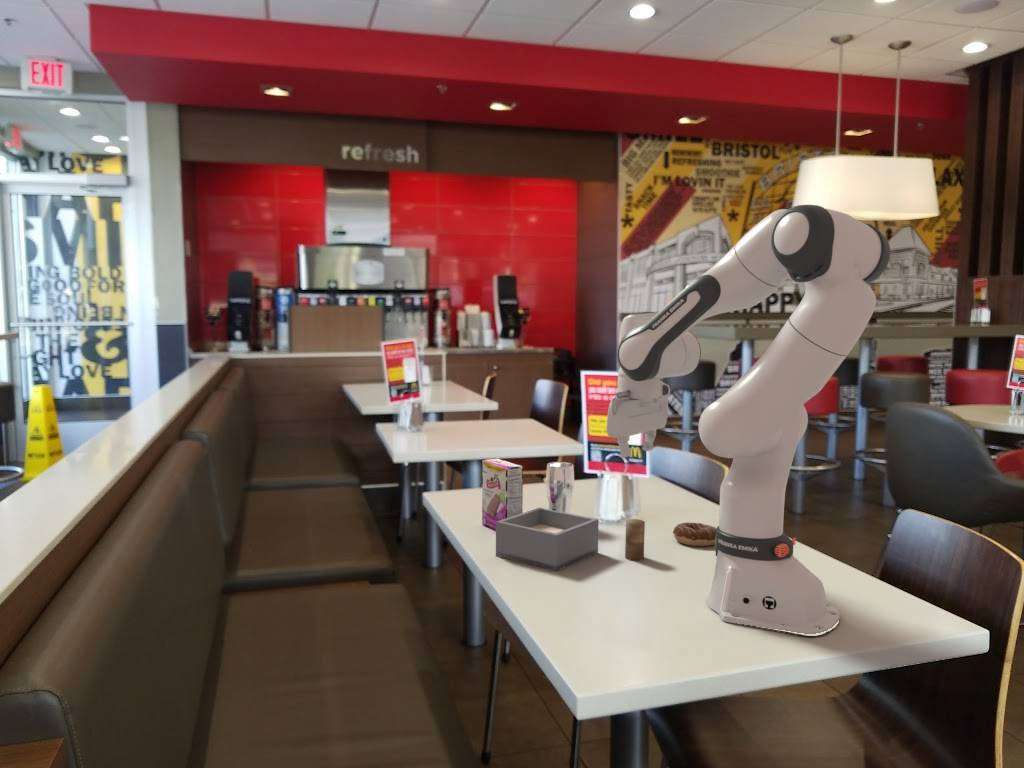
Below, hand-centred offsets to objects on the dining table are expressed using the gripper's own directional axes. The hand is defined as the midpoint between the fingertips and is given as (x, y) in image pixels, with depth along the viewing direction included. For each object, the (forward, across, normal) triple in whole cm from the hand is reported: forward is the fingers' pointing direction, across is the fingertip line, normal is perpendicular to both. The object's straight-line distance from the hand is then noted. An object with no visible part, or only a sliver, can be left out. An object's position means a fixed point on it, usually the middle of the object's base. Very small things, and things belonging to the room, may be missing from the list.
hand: (636, 453), depth 170 cm
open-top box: (+23, -10, +16) cm, 30 cm away
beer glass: (+23, +12, +28) cm, 38 cm away
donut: (+23, +20, -5) cm, 31 cm away
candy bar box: (+23, -1, +36) cm, 43 cm away
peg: (+23, 0, 0) cm, 23 cm away
